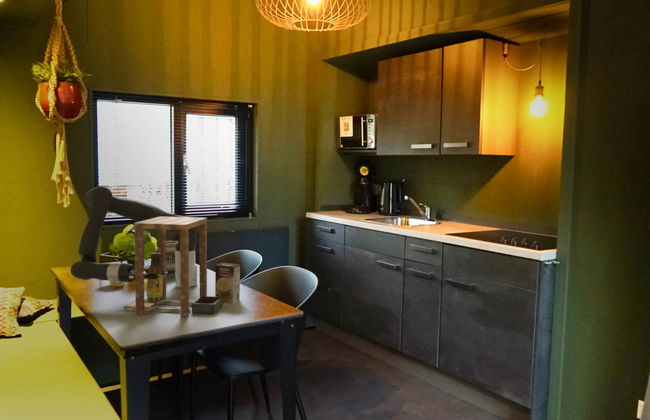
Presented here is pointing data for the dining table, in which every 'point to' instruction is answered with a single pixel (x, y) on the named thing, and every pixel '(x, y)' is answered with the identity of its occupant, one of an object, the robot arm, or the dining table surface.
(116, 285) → the plant pot
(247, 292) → the dining table surface
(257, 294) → the dining table surface
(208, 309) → the box
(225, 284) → the coffee box
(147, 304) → the pad
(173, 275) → the apothecary jar
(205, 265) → the frame
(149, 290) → the sauce bottle
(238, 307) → the dining table surface
